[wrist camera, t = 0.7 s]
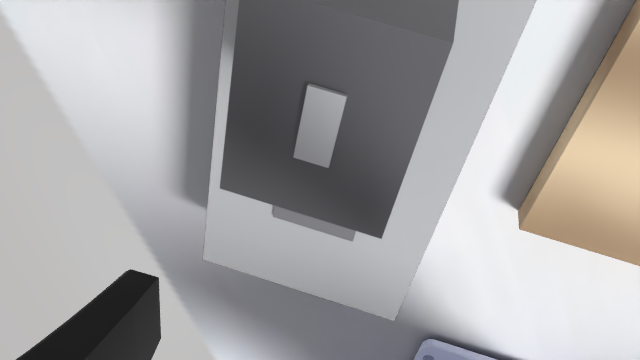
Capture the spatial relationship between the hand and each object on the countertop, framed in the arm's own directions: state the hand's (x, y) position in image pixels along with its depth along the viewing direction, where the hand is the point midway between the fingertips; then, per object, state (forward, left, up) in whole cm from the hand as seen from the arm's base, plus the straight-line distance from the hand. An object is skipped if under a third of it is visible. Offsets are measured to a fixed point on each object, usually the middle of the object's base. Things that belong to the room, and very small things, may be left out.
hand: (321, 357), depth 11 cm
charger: (+3, +1, -10) cm, 11 cm away
